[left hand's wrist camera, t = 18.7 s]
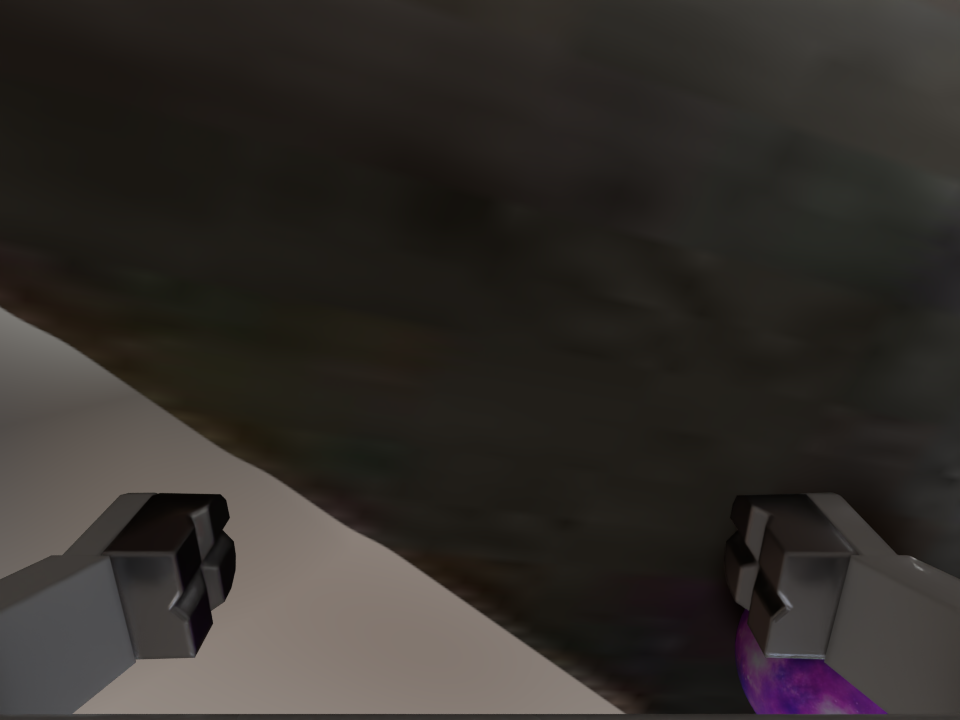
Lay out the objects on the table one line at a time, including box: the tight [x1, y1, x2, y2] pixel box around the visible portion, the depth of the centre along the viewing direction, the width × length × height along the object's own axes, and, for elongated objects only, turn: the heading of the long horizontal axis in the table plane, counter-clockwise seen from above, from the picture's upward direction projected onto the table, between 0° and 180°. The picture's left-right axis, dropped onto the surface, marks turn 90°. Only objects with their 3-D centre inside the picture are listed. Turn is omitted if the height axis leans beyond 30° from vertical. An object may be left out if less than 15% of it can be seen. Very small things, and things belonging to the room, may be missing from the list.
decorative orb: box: [735, 609, 888, 714], centre depth 53 cm, size 15×15×15 cm
